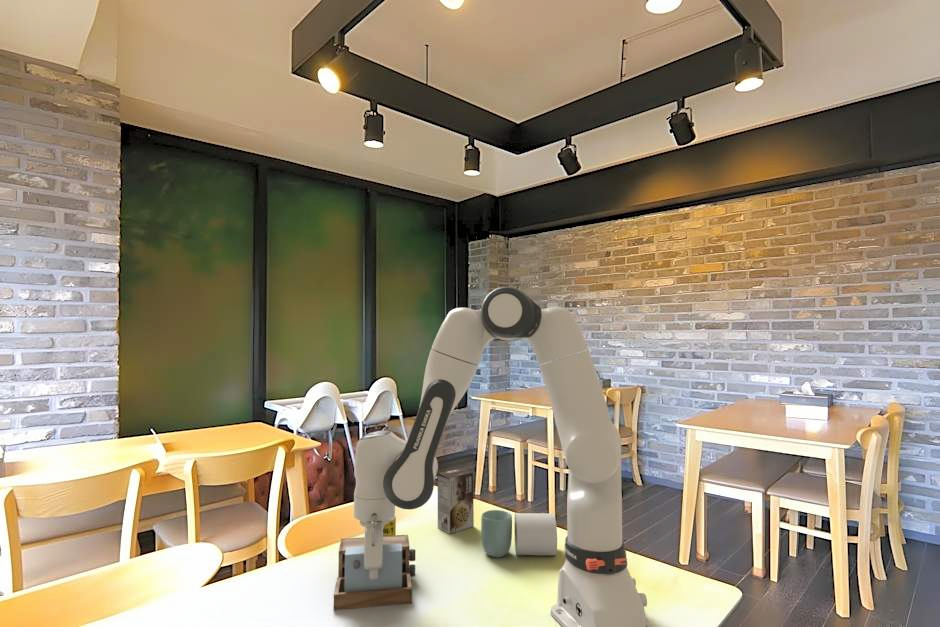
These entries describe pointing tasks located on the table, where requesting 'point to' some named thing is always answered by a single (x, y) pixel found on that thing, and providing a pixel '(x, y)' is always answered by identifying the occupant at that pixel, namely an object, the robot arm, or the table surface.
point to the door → (359, 575)
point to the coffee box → (455, 500)
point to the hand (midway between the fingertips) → (374, 571)
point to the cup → (496, 532)
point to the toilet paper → (535, 534)
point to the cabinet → (381, 595)
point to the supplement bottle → (390, 527)
